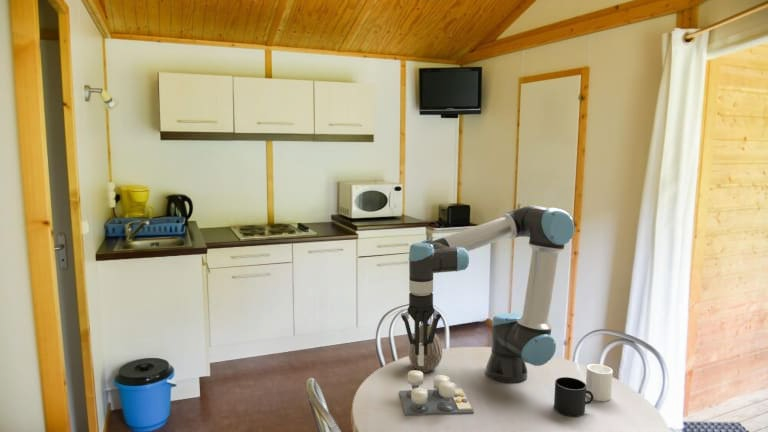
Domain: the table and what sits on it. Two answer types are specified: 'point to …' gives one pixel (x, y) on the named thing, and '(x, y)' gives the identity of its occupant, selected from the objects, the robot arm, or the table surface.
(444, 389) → the button
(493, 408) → the table surface
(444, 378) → the button
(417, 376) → the button
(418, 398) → the button
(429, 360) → the vase
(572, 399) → the mug
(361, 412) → the table surface
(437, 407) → the board
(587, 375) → the mug
